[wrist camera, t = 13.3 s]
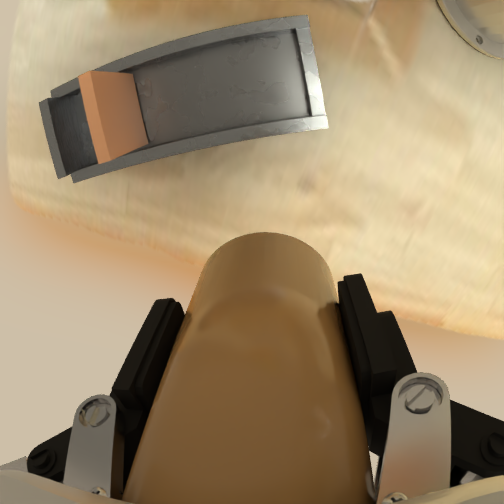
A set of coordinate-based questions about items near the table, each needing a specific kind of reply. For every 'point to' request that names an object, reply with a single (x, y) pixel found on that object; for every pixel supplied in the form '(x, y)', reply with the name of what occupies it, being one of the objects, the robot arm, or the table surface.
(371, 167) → the table surface
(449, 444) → the robot arm
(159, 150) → the tray
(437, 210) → the table surface
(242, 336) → the jar
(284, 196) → the table surface
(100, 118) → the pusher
